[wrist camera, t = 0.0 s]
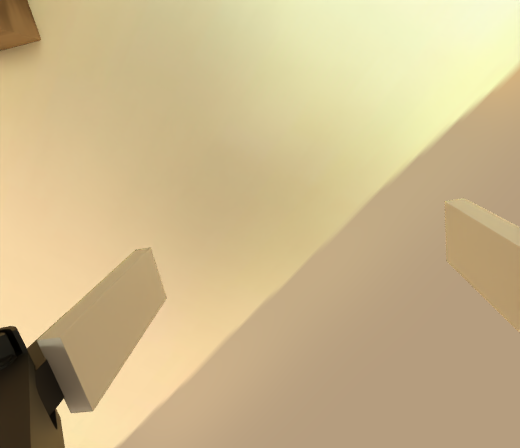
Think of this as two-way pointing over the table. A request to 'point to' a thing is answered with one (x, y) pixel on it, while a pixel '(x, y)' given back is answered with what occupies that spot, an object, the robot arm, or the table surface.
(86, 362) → the robot arm
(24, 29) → the walnut block
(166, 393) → the table surface
